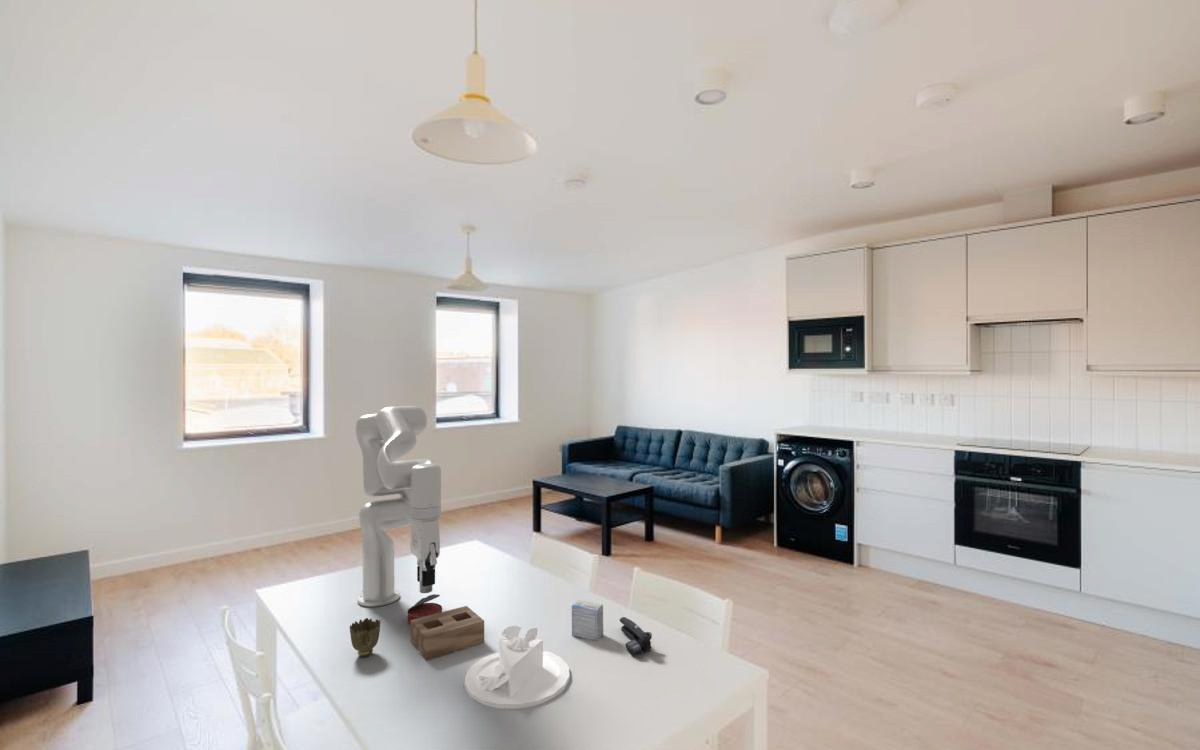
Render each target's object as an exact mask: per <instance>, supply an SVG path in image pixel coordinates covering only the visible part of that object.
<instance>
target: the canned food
mask: <svg viewBox="0 0 1200 750" xmlns="http://www.w3.org/2000/svg"><path fill="white" fill-rule="evenodd" d="M440 596H441V595H440V594H435V593H434V594H430V595H428V596H425V597H422V598H421V599H419V601H417V602H416V603H415V604H414V605H413V606H411V607H408V608H407V609H406V610H407V611H406V612H407V623H408V625H410V626H411V620H414V619H417V618H421V617H425V616H429V615H433V614H437V613H441V612H443V606H442V605H441V604H439V603H437V602H436V603H435V602H430V601H432V600H435V599H437V598H439V597H440Z"/></svg>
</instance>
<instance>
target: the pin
mask: <svg viewBox="0 0 1200 750" xmlns="http://www.w3.org/2000/svg"><path fill="white" fill-rule="evenodd" d="M428 557H430V556H427V558H428ZM428 562H430V561H427V563H428ZM419 566H420V582H419V593H420V594H428V593H429V594H430V593H431V592H433V587H434V586H433V585H430V586H425V587H423V586H422V571H423V561H421V560H420V565H419Z"/></svg>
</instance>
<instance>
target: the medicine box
mask: <svg viewBox="0 0 1200 750" xmlns="http://www.w3.org/2000/svg"><path fill="white" fill-rule="evenodd" d="M603 635H604V605H603V604H602V603H597V602H594V601H593V602H592V601H586V600H580V599H578V600H577V601H575V602H574V603H572V605H571V636H573V637H578V638H581V639H582V638H583V639H585V640H590V641H597V642H598V641H599V639H601V638H602V636H603Z"/></svg>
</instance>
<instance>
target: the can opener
mask: <svg viewBox="0 0 1200 750" xmlns="http://www.w3.org/2000/svg"><path fill="white" fill-rule="evenodd" d="M619 622H620V623H621V624H622V626H621V629H620V630H621V631H622V633H623V634H624V635H625V636H626V637H628V638H629V639H630V640H628V641H627V642H626V643H625V645H624V647H625V650H626V651H627V652H628V653H629V654H630V656H633V657H634V656H639V655H640V656H641V655H643V653H646V652H649V651H650V650H651V649H652V642H651V640H652V638H653V636H652V635H653V634H652V631H644V630H643V629H642V628H641V627H640V626H639V625H638V624H637V623H635V622H634V621H633V620H632V619H629V618H627V617H625V616H623V617H620V618H619Z"/></svg>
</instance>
